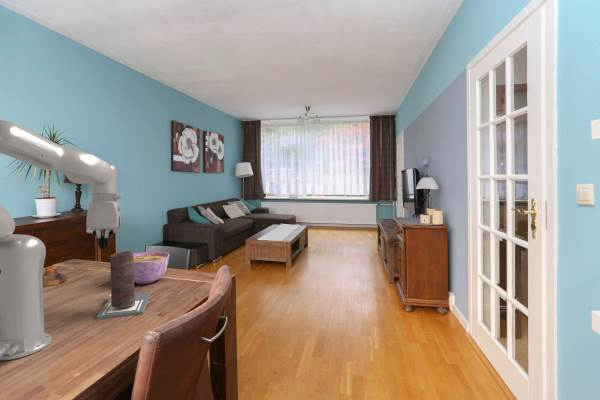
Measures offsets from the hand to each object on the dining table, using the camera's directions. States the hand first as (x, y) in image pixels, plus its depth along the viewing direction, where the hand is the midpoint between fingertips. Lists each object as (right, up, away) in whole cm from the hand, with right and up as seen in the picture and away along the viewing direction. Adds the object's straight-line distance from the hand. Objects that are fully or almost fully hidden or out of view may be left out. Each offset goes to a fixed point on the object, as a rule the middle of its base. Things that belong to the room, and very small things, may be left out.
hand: (103, 248), depth 112 cm
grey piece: (+7, -22, +2) cm, 23 cm away
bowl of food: (+1, -20, +30) cm, 36 cm away
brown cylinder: (+8, -21, -2) cm, 23 cm away
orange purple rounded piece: (-41, -20, +26) cm, 52 cm away
